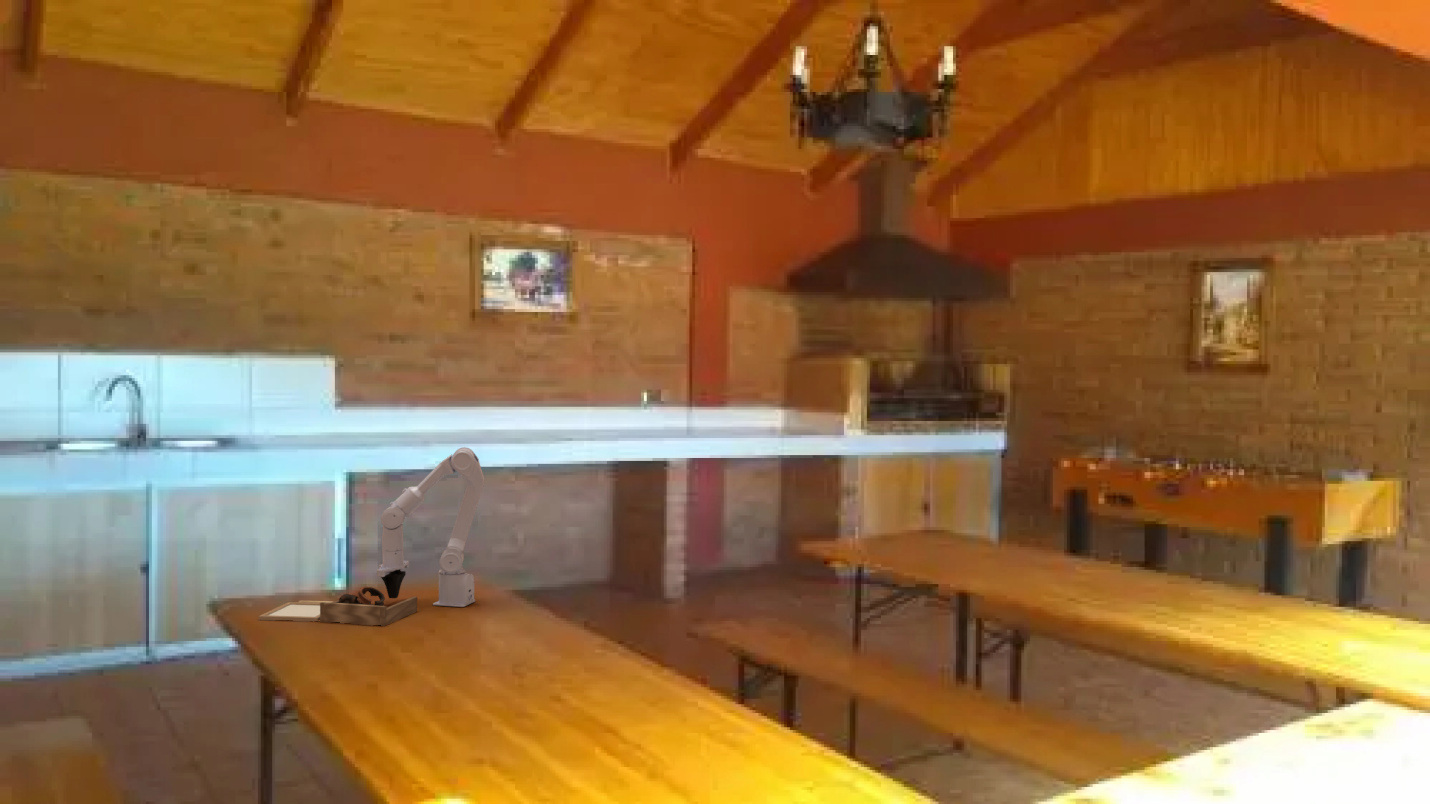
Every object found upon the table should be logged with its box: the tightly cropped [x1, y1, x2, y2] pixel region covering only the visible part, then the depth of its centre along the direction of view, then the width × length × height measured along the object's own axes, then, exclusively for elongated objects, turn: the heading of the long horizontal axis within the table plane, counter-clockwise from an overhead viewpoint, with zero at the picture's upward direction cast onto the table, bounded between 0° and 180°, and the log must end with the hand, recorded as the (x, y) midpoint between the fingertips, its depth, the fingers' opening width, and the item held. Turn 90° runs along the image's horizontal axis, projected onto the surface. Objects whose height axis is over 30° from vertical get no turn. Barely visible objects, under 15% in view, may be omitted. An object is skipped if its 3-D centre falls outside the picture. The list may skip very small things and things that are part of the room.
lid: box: [258, 600, 335, 623], centre depth 304 cm, size 16×20×1 cm
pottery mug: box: [338, 586, 386, 606], centre depth 303 cm, size 12×10×8 cm
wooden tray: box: [320, 593, 418, 627], centre depth 300 cm, size 18×18×5 cm
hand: (393, 597), depth 315 cm, fingers closed
